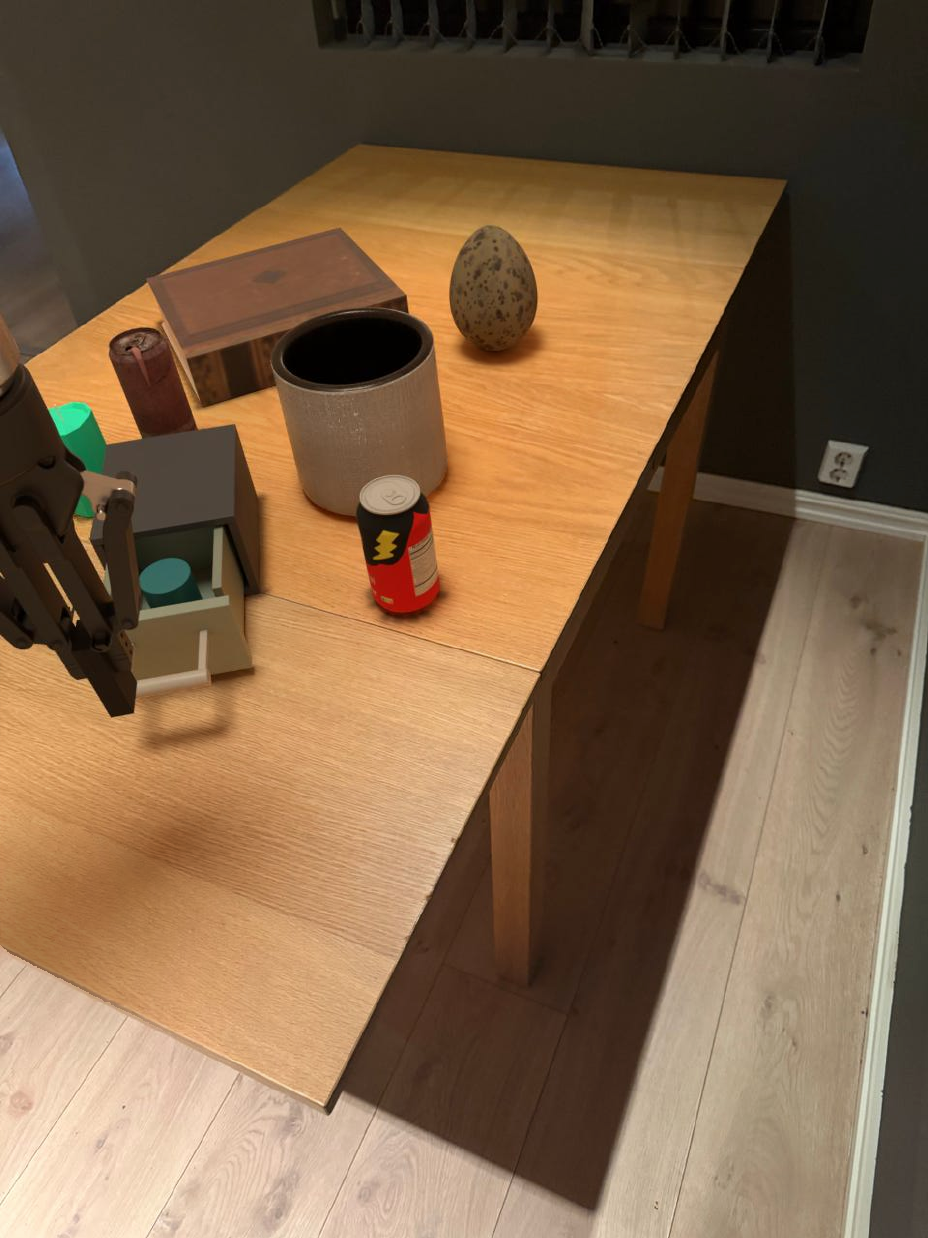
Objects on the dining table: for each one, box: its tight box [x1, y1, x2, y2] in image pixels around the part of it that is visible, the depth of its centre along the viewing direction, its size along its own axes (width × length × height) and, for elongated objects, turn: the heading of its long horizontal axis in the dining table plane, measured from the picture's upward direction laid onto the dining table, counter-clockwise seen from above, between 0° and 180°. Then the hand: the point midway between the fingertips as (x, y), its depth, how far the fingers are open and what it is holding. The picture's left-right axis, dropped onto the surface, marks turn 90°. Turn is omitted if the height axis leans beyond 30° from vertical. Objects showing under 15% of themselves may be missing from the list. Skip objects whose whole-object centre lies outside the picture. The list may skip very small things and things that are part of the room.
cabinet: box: [88, 423, 261, 597], centre depth 85 cm, size 15×13×10 cm
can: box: [108, 326, 199, 439], centre depth 97 cm, size 6×6×14 cm
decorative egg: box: [448, 224, 539, 352], centre depth 107 cm, size 11×11×15 cm
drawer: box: [102, 524, 254, 700], centre depth 76 cm, size 19×11×8 cm, turn 10°
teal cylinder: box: [139, 558, 203, 609], centre depth 77 cm, size 4×4×6 cm
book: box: [145, 227, 410, 408], centre depth 117 cm, size 24×28×6 cm
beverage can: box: [355, 475, 440, 613], centre depth 78 cm, size 6×6×12 cm
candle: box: [48, 401, 107, 518], centre depth 92 cm, size 6×6×12 cm
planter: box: [270, 307, 448, 517], centre depth 90 cm, size 16×16×16 cm
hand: (124, 699), depth 58 cm, fingers closed
